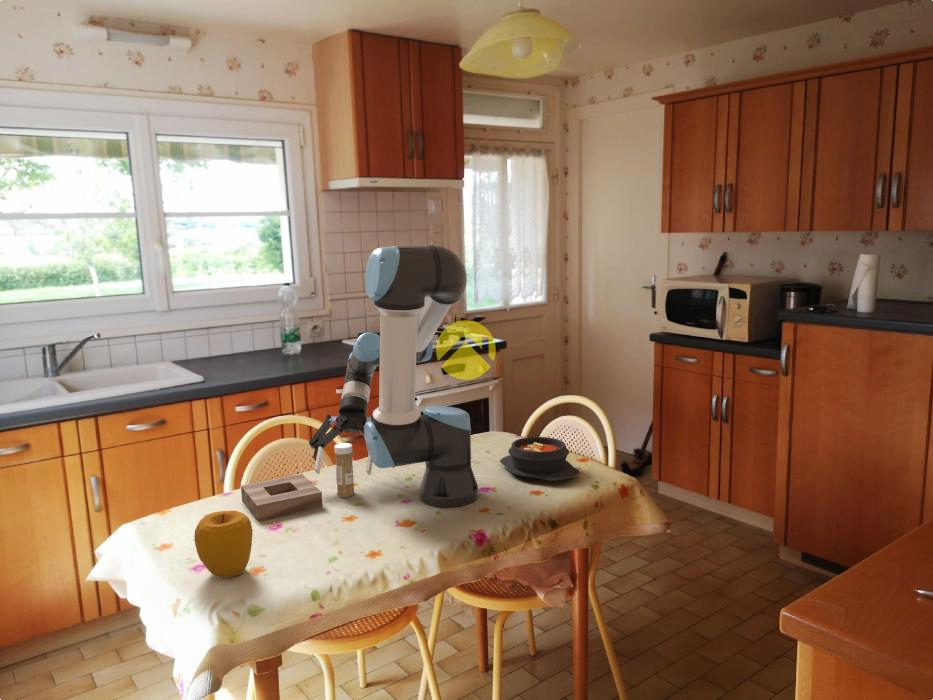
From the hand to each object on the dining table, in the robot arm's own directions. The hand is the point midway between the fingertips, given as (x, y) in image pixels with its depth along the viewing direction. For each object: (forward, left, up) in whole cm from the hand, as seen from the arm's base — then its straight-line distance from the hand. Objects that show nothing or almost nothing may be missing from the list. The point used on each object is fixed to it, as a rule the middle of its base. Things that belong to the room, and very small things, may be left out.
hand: (342, 472), depth 181 cm
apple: (-27, +35, -7) cm, 45 cm away
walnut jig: (+4, +15, -6) cm, 17 cm away
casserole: (-13, -53, -7) cm, 55 cm away
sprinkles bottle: (+1, -1, -7) cm, 7 cm away
